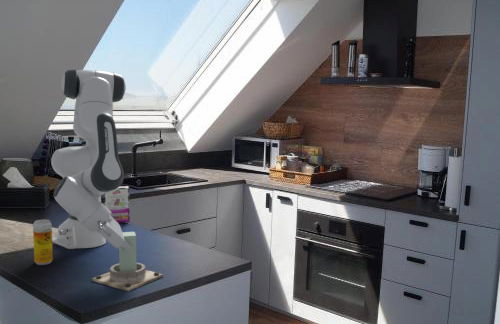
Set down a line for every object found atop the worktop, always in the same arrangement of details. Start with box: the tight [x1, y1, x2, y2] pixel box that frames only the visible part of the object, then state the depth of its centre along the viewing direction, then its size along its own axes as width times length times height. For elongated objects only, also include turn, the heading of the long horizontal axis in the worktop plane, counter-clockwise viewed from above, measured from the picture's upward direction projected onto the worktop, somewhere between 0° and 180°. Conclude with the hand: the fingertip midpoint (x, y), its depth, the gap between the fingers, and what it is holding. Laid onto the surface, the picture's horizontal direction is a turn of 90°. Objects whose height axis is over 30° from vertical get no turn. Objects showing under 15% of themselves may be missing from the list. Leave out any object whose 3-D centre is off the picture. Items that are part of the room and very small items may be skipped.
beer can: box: [32, 218, 54, 266], centre depth 191 cm, size 6×6×15 cm
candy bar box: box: [103, 185, 131, 224], centre depth 250 cm, size 11×5×16 cm, turn 104°
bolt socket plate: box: [91, 262, 164, 292], centre depth 177 cm, size 16×16×4 cm
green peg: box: [118, 231, 138, 272], centre depth 176 cm, size 5×5×12 cm
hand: (129, 246), depth 176 cm, fingers closed on green peg, 5 cm apart
